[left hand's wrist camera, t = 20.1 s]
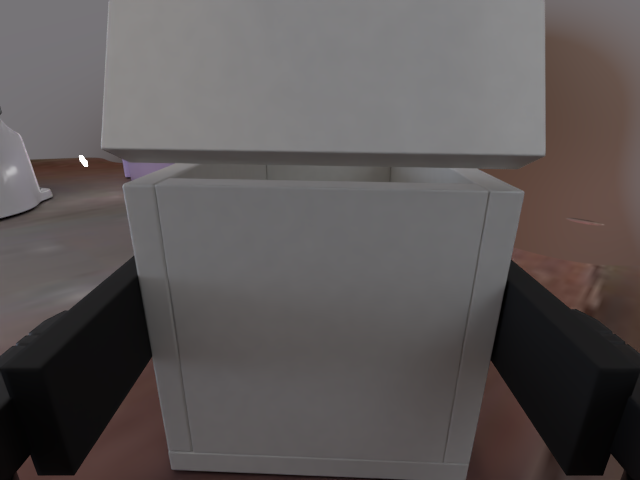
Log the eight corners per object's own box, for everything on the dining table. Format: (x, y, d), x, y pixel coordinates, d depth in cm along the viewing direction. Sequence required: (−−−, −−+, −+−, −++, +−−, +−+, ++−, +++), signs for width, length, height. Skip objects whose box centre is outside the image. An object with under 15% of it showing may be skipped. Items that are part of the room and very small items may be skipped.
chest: (261, 266, 29) (254, 131, 26) (393, 270, 29) (404, 133, 25) (170, 470, 13) (120, 183, 10) (465, 483, 13) (525, 191, 9)
